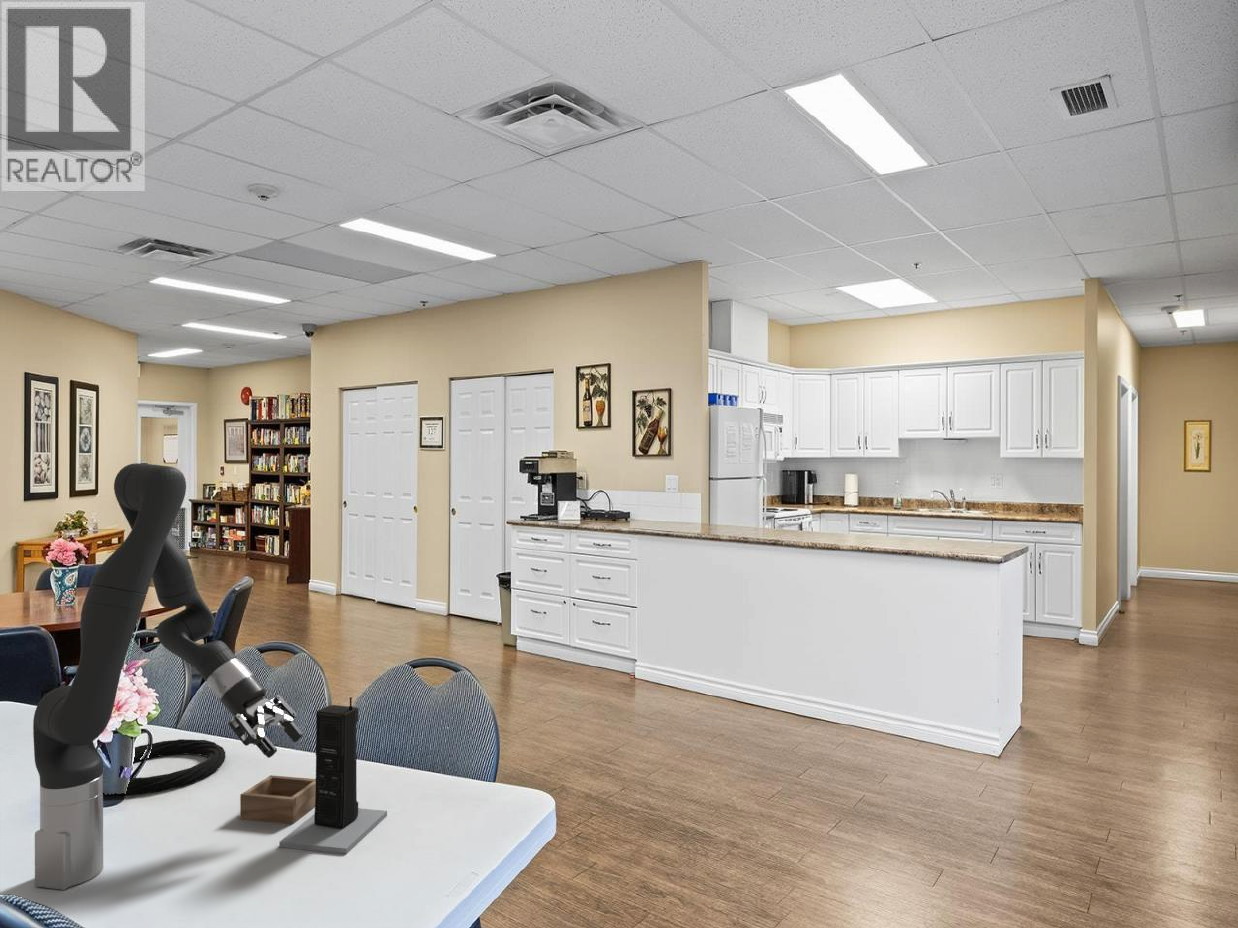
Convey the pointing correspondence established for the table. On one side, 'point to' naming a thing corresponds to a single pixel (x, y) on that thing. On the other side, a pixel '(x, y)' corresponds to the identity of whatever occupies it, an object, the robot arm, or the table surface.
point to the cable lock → (183, 776)
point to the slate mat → (333, 833)
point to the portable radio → (336, 766)
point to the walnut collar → (278, 799)
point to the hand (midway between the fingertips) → (286, 746)
